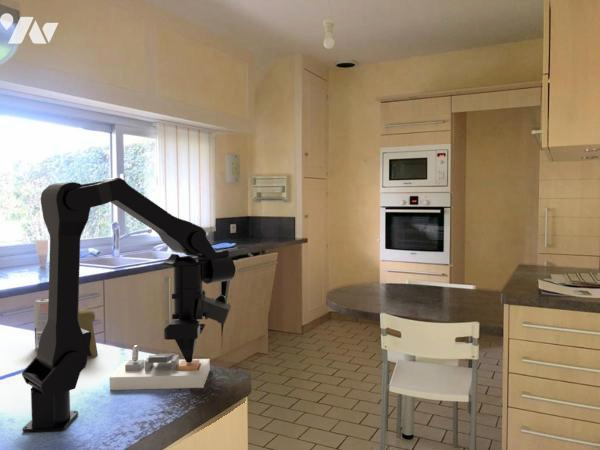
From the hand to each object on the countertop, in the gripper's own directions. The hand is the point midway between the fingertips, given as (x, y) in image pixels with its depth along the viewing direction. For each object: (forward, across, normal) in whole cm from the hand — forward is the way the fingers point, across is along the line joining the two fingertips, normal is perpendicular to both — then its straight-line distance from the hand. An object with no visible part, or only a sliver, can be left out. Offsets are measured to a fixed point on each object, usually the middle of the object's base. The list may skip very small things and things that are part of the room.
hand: (189, 361), depth 102 cm
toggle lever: (0, 0, +11) cm, 11 cm away
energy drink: (+4, +25, +40) cm, 47 cm away
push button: (+3, 0, 0) cm, 3 cm away
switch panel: (+4, 0, +6) cm, 7 cm away
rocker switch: (-1, 0, +6) cm, 6 cm away
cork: (+4, +17, +28) cm, 33 cm away
